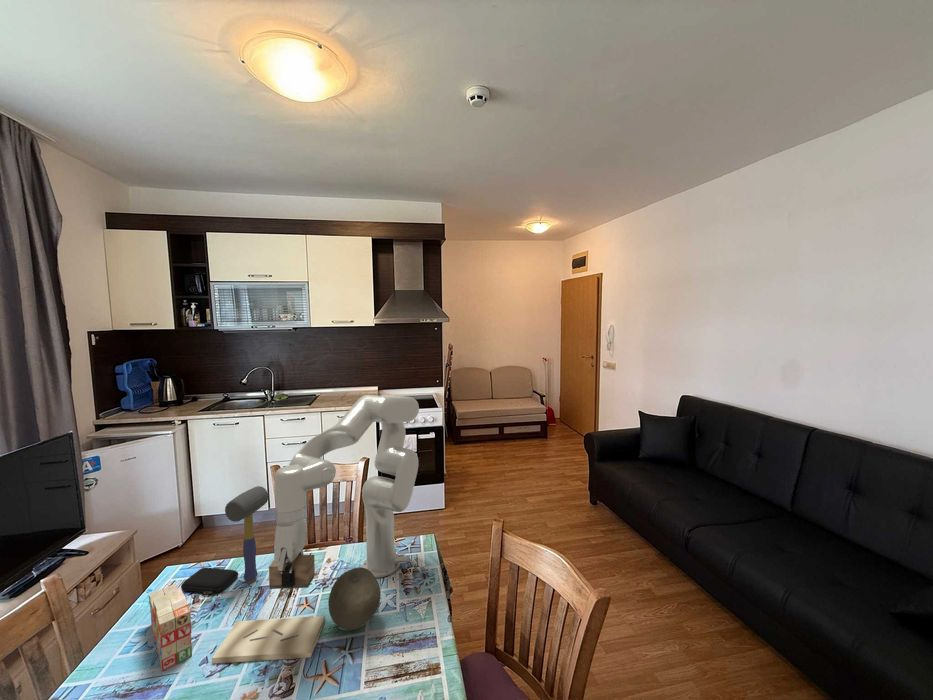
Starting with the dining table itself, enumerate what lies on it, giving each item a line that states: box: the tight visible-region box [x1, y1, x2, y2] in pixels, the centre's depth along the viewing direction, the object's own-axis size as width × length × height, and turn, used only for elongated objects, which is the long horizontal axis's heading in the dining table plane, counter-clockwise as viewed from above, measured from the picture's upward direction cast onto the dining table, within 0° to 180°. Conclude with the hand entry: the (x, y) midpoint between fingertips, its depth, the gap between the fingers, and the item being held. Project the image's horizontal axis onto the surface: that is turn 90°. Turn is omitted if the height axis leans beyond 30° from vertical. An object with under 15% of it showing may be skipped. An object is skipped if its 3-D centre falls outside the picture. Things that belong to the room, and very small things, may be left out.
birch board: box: [211, 615, 326, 665], centre depth 102 cm, size 24×12×2 cm, turn 94°
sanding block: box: [268, 554, 316, 590], centre depth 103 cm, size 10×5×6 cm, turn 93°
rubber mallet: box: [224, 485, 269, 583], centre depth 126 cm, size 12×8×30 cm, turn 170°
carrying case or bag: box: [180, 567, 239, 595], centre depth 125 cm, size 11×3×15 cm
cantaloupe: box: [327, 566, 382, 631], centre depth 107 cm, size 14×14×15 cm
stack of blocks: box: [148, 583, 193, 672], centre depth 102 cm, size 21×6×12 cm, turn 45°
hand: (292, 578), depth 103 cm, fingers closed on sanding block, 5 cm apart
